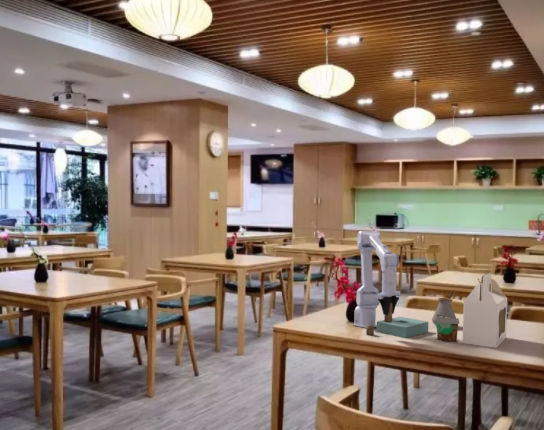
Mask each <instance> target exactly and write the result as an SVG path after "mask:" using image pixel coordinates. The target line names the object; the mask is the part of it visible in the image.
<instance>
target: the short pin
mask: <svg viewBox="0 0 544 430" xmlns="http://www.w3.org/2000/svg"><path fill="white" fill-rule="evenodd" d="M365 331H366V332H365V334H366V336H370V337H371V336H372V337H373V336H374V335H375V332H374V331H375V327H374V325H366V329H365Z"/></svg>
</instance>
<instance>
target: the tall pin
mask: <svg viewBox="0 0 544 430" xmlns="http://www.w3.org/2000/svg"><path fill="white" fill-rule="evenodd" d="M392 318H393V314H392V303H390V307H389V314H388V315H384V319H383V320H384V322H387V323H391V322H392Z"/></svg>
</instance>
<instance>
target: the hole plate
mask: <svg viewBox="0 0 544 430" xmlns="http://www.w3.org/2000/svg"><path fill="white" fill-rule="evenodd" d="M376 325H377V327H376V332H377V333H381V334H385V335H390V336H395V337H401V338H405V339H407V338H410V337H414V336H418V335H422V334H425V333H428V332H429V321H426V320H421V319H416V318H409V317H404V316H396V317H392V322H391V323H387V322H384V319H382V320H378V321H376Z"/></svg>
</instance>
